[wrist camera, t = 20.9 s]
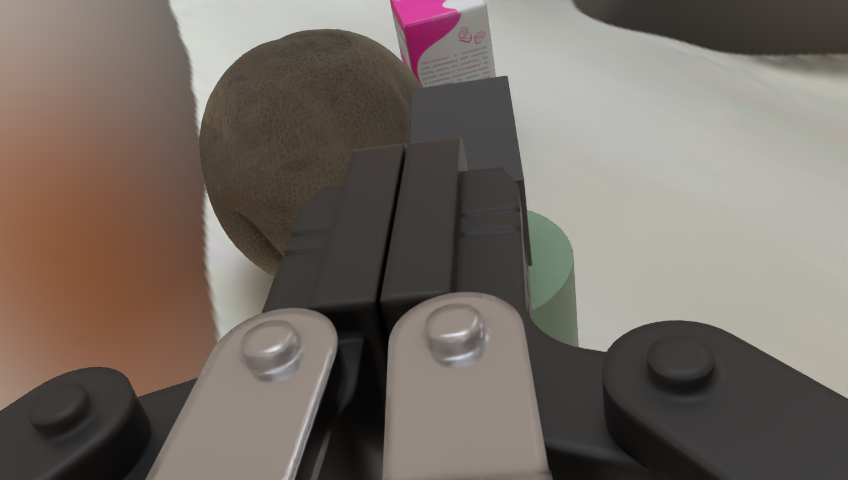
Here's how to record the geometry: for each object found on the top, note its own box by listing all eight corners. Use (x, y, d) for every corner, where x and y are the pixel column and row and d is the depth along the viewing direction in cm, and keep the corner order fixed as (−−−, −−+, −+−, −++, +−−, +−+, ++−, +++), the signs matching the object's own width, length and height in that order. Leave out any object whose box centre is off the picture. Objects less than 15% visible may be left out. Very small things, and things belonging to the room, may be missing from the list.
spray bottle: (602, 572, 34) (587, 189, 21) (452, 584, 34) (350, 219, 22) (576, 419, 40) (551, 51, 27) (449, 431, 41) (367, 77, 28)
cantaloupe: (498, 273, 49) (467, 50, 40) (283, 370, 46) (193, 152, 36) (404, 168, 60) (363, -28, 50) (224, 241, 56) (142, 46, 47)
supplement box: (485, 113, 64) (467, -26, 56) (506, 151, 59) (490, 4, 52) (415, 131, 63) (387, -7, 56) (431, 171, 59) (403, 26, 52)
